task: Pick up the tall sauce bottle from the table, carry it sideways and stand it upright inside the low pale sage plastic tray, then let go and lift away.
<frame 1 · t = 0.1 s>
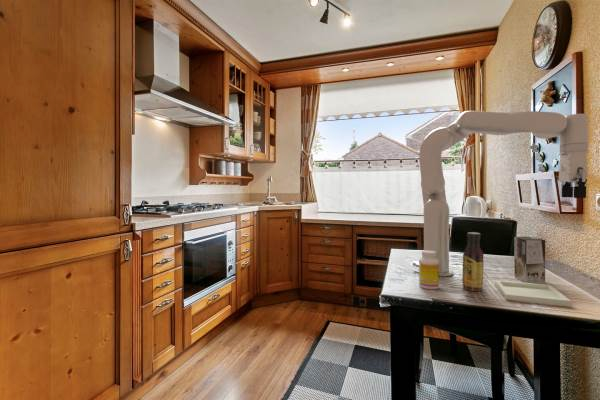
hand: (573, 197, 108), 31 cm above the table, tool pointing down, fingers open, 9 cm apart
supplement bottle: (429, 287, 108), on the table
tray: (528, 294, 98), on the table
coffee box: (529, 280, 114), on the table
sauce bottle: (472, 290, 104), on the table
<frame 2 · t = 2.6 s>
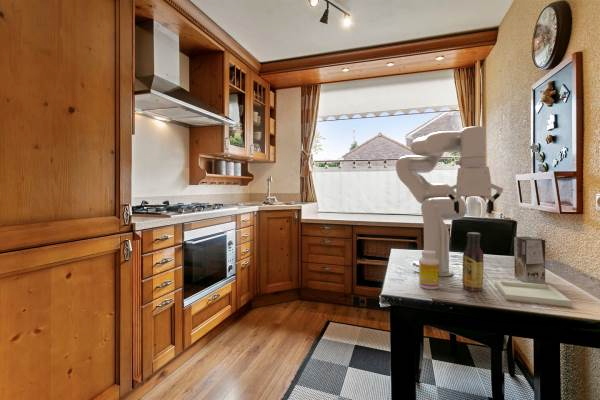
hand: (473, 213, 103), 27 cm above the table, tool pointing down, fingers open, 9 cm apart
nothing on the table moved.
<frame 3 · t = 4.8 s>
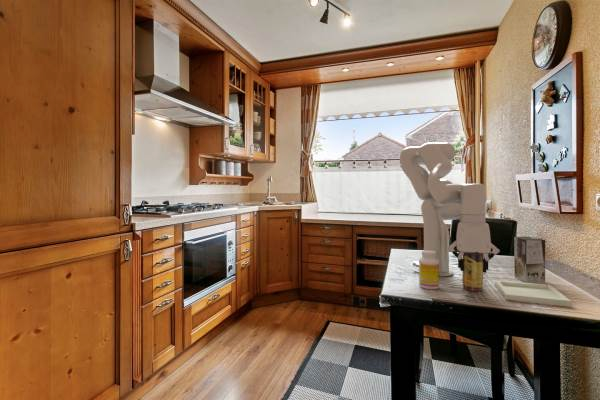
hand: (472, 270, 104), 7 cm above the table, tool pointing down, fingers closed on sauce bottle, 6 cm apart
sauce bottle: (472, 290, 104), on the table, touching gripper
everything else where it was.
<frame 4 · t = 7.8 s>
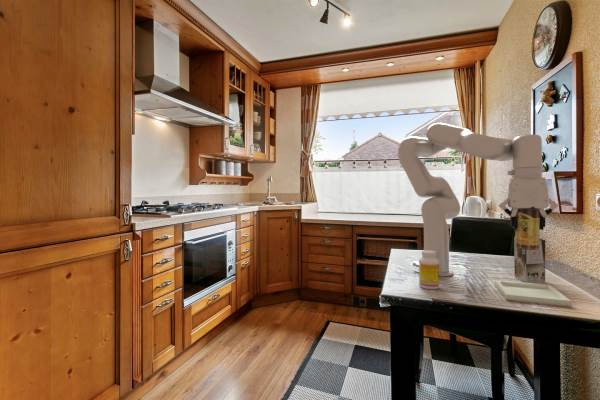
hand: (527, 228, 98), 22 cm above the table, tool pointing down, fingers closed on sauce bottle, 6 cm apart
sauce bottle: (527, 249, 98), point 15 cm above the table, touching gripper
everything else where it was.
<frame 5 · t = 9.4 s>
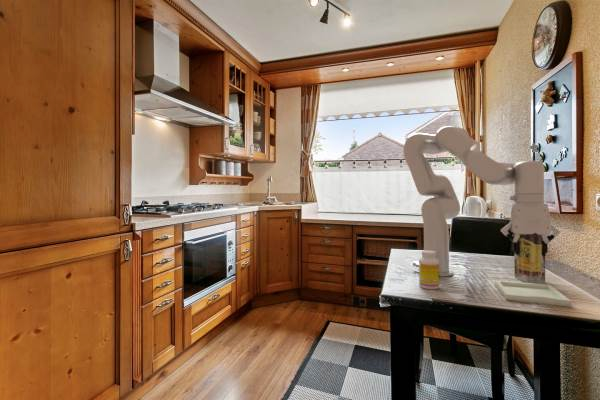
hand: (529, 254, 98), 13 cm above the table, tool pointing down, fingers closed on sauce bottle, 6 cm apart
sauce bottle: (529, 275, 98), point 7 cm above the table, touching gripper
everything else where it was.
when the fingers open (8 cm above the table, at t = 10.8 s): sauce bottle drops 1 cm, resting on tray.
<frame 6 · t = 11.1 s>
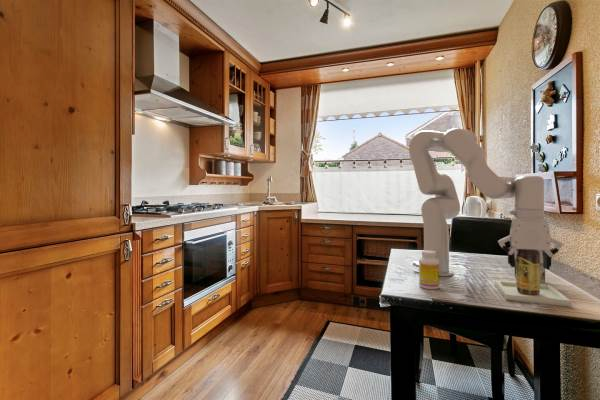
hand: (528, 267, 98), 9 cm above the table, tool pointing down, fingers open, 8 cm apart
sauce bottle: (528, 293, 98), resting on tray
everything else where it was.
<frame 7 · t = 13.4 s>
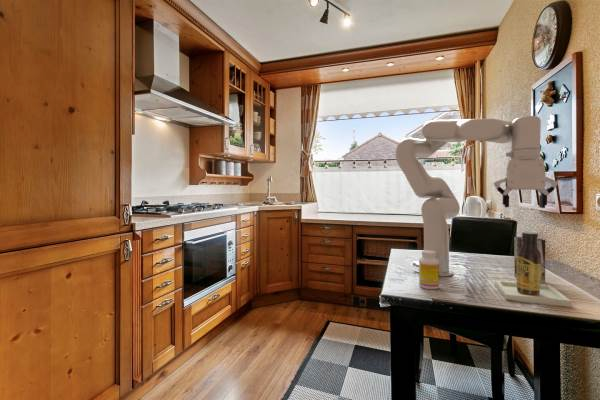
hand: (523, 207, 99), 29 cm above the table, tool pointing down, fingers open, 9 cm apart
nothing on the table moved.
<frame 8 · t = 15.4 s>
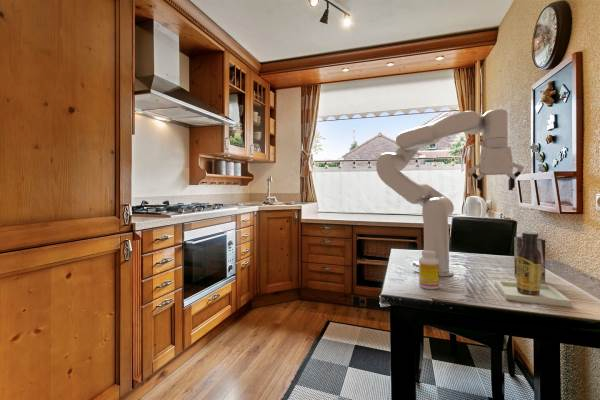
hand: (495, 190, 112), 34 cm above the table, tool pointing down, fingers open, 9 cm apart
nothing on the table moved.
at the end: sauce bottle inside the target area on the tray (0.1 cm from its centre), point 0.4 cm above the tray's base; sauce bottle tilted 0°; the gripper is holding nothing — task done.
